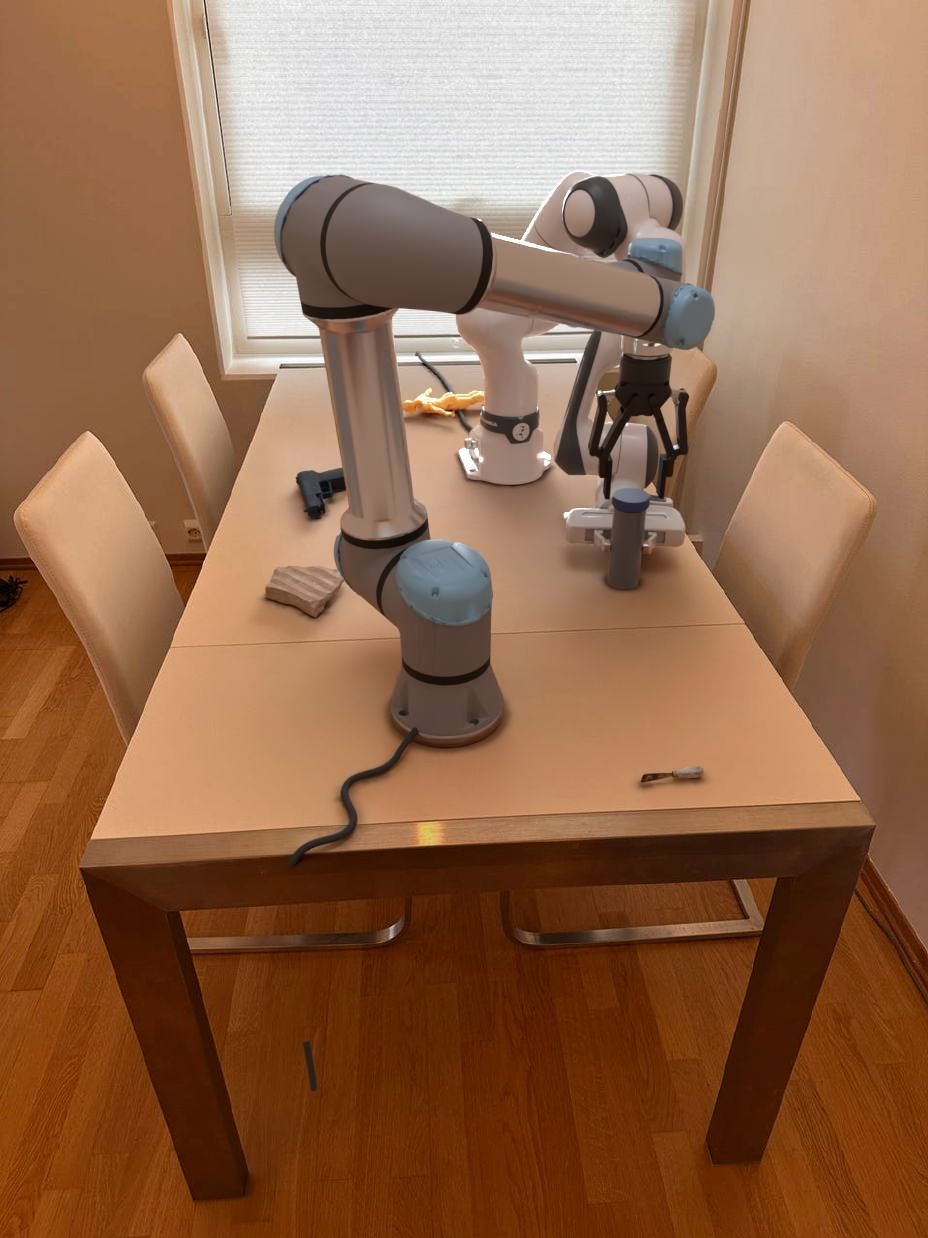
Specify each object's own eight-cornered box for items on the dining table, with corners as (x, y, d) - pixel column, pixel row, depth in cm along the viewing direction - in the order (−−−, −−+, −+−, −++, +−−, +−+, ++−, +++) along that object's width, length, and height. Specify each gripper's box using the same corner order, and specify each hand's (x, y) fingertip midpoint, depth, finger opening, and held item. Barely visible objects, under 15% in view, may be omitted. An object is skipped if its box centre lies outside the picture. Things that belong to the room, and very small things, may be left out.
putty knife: (703, 777, 109) (705, 767, 109) (642, 788, 108) (644, 777, 107) (700, 772, 110) (702, 762, 109) (639, 782, 109) (640, 771, 108)
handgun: (366, 513, 175) (304, 520, 172) (351, 478, 189) (294, 484, 186) (365, 498, 173) (303, 505, 170) (350, 463, 187) (293, 470, 184)
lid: (656, 503, 144) (657, 494, 143) (636, 516, 140) (638, 506, 139) (624, 494, 147) (625, 484, 146) (604, 506, 143) (605, 496, 142)
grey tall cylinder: (644, 580, 151) (654, 496, 143) (627, 592, 148) (637, 507, 140) (617, 570, 154) (625, 488, 146) (600, 582, 151) (607, 498, 143)
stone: (354, 583, 150) (352, 570, 149) (317, 618, 141) (316, 605, 140) (288, 570, 155) (286, 557, 153) (249, 603, 145) (246, 590, 144)
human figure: (395, 413, 223) (394, 398, 221) (438, 390, 237) (438, 375, 235) (462, 429, 215) (462, 413, 213) (502, 404, 229) (503, 388, 227)
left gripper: (578, 361, 128) (570, 506, 140) (723, 359, 127) (703, 504, 140) (573, 346, 134) (566, 486, 146) (711, 344, 134) (692, 484, 146)
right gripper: (563, 495, 158) (564, 529, 146) (681, 498, 156) (691, 534, 144) (562, 527, 161) (562, 563, 149) (676, 531, 159) (686, 568, 148)
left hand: (633, 495), depth 143 cm, fingers open, 8 cm apart
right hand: (626, 549), depth 147 cm, fingers closed on grey tall cylinder, 5 cm apart
